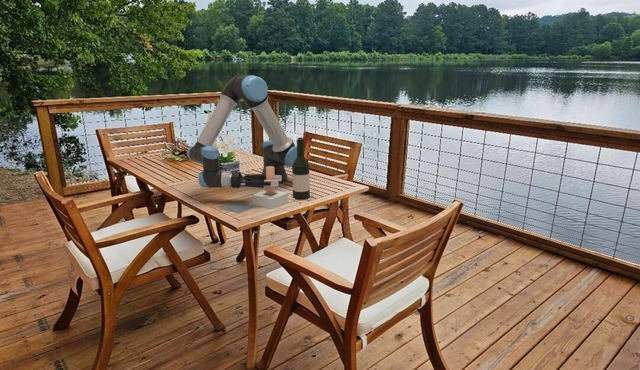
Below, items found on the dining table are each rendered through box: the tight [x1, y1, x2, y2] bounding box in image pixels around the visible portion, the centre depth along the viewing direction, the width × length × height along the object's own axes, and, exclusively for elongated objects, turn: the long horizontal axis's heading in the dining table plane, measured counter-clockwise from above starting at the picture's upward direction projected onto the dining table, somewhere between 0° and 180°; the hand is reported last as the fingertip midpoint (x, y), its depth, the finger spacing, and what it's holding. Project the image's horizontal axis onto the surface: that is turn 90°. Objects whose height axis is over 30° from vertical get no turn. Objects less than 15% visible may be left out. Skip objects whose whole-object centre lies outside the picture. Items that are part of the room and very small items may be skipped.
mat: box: [219, 200, 258, 215], centre depth 195 cm, size 14×12×1 cm
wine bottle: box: [291, 136, 311, 201], centre depth 205 cm, size 8×8×30 cm
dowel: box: [265, 166, 276, 196], centre depth 198 cm, size 4×4×18 cm
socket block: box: [251, 189, 289, 210], centre depth 200 cm, size 12×12×5 cm
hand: (279, 180), depth 197 cm, fingers open, 8 cm apart
